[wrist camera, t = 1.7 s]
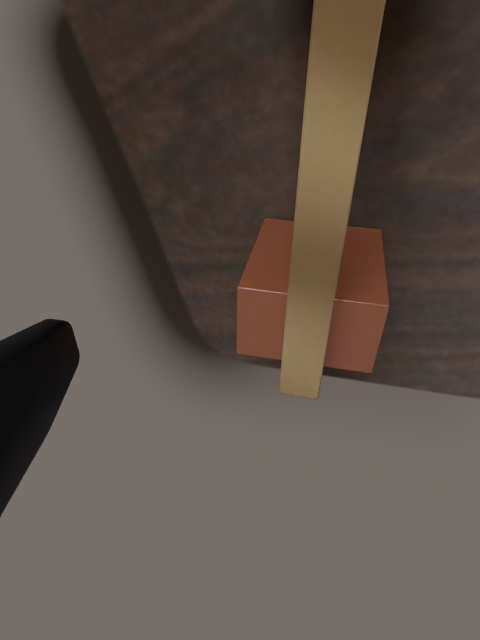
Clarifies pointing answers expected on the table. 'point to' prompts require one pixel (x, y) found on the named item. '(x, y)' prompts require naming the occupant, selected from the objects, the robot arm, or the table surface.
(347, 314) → the reddish-brown rectangular block
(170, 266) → the table surface
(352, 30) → the wooden disc paddle
